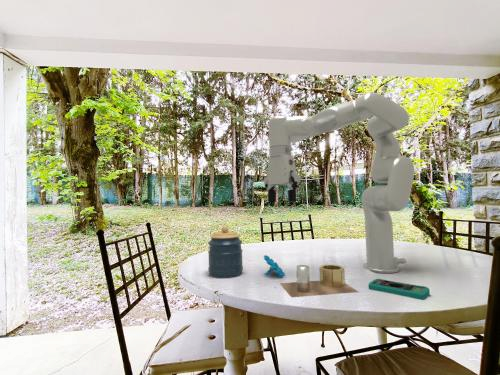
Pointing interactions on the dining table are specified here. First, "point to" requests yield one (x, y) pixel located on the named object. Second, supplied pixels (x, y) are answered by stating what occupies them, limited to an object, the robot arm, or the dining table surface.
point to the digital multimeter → (400, 289)
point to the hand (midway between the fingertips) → (281, 202)
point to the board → (316, 289)
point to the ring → (332, 275)
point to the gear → (273, 267)
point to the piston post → (303, 279)
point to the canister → (225, 254)
